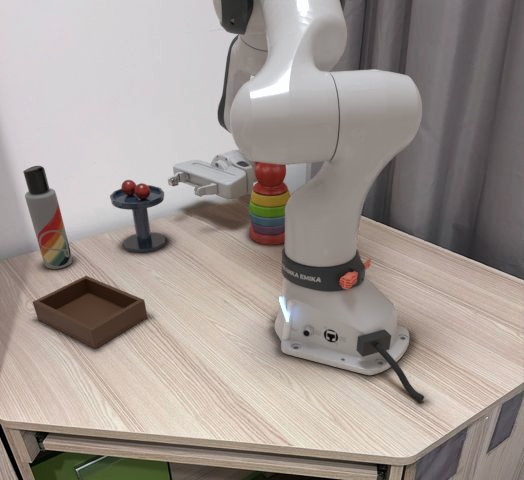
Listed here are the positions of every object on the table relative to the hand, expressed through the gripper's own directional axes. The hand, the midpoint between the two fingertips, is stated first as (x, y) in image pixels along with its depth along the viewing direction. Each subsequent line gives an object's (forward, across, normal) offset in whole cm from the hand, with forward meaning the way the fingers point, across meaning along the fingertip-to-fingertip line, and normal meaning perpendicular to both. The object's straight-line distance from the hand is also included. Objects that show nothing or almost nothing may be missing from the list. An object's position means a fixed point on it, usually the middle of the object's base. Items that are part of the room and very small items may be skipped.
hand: (182, 187), depth 121 cm
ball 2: (+12, +2, -3) cm, 12 cm away
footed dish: (+12, 0, +9) cm, 15 cm away
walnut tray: (+37, +19, +9) cm, 42 cm away
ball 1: (+12, -2, -3) cm, 13 cm away
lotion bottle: (+30, -5, +10) cm, 32 cm away
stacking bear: (-10, +18, +10) cm, 23 cm away
